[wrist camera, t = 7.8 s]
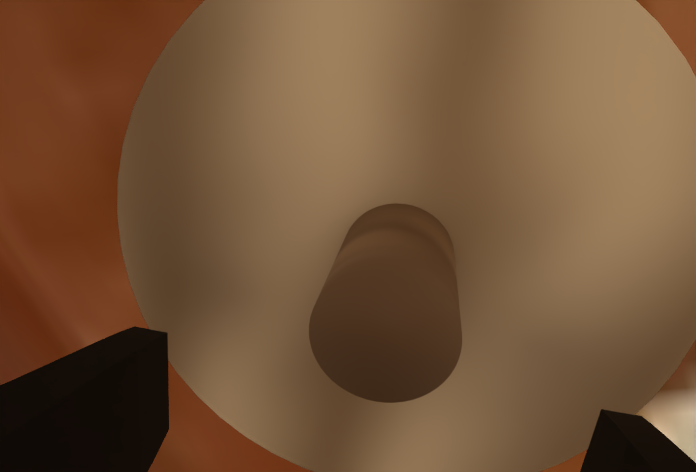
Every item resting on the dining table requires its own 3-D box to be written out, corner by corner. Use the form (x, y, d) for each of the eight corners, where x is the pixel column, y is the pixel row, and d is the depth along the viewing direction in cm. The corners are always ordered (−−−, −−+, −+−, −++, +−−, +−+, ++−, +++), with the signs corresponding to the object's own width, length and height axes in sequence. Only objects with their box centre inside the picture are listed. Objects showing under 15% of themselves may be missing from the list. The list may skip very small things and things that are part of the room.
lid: (139, 427, 18) (44, 552, 13) (114, -104, 12) (-57, -183, 8) (617, 519, 16) (685, 694, 12) (824, -46, 11) (1085, -105, 6)
